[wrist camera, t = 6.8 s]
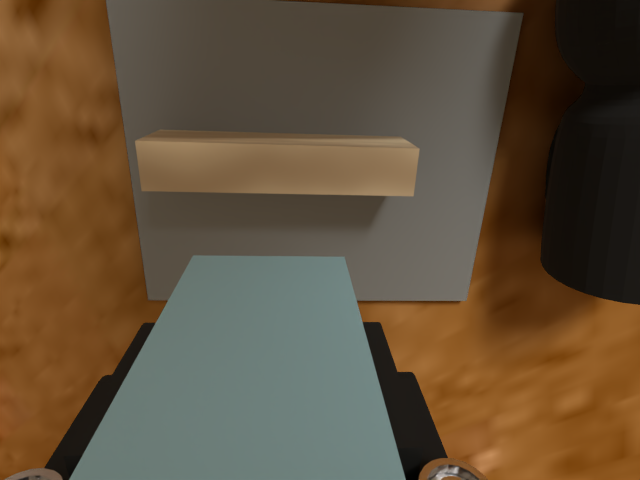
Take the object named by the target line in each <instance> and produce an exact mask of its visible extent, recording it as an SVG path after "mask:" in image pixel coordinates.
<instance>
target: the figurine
mask: <svg viewBox="0 0 640 480" xmlns="http://www.w3.org/2000/svg"><path fill="white" fill-rule="evenodd" d="M555 31H556V40H557V44H558V48H559V51H560V53H561V56H562V58H563V59H564V61H565V62H566V64H567V65H568V67H569V68H570V69H571V70H572V71H573V72H574V73H575V74H576V75H577V76H578V77H579V78H580V79H581V80H582V81H584V82H585V87H584V91H583V93H582V95H581V96H580V98H579V99H578V100H577V101H576V102H574V103H573V104H572V105H571V106H570V107H569V108H568V109H567V110H566V112H565V113H564V115H563V117H562V120H561V122H560V124H559V126H558V128H557V131H556V133H555V136H554V138H553V141H552V144H551V147H550V152H549V156H548V163H547V173H546V189H545V198H546V204H545V213H544V222H543V232H542V243H541V259H540V260H541V263H542V266H543V268H544V269H545V270H546V271H547V273H548V274H550V275H551V276H552V277H553V278H555V279H556V280H557V281H559V282H561V283H563V284H565V285H566V286H568V287H570V288H573V289H575V290H578V291H580V292H583V293H586V294H589V295H592V296H596V297H599V298H603V299H608V300H612V301H617V302H622V303H630V304H638V305H640V0H556V9H555Z"/></svg>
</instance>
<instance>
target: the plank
mask: <svg viewBox="0 0 640 480" xmlns="http://www.w3.org/2000/svg"><path fill="white" fill-rule="evenodd" d="M135 145H136V152H137V160H138V168H139V175H140V183H141V190H142V191H165V192H216V193H268V194H320V195H372V196H414V189H415V181H416V173H417V165H418V157H419V150H420V149H419V148H418V147H416V146H415V145H413V144H412V143H410V142H408V141H407V140H405V139H404V138H402V137H395V136H360V135H326V134H292V133H257V132H223V131H189V130H158V131H156V132H154V133H151V134H149V135H147V136H145V137H142V138H140V139H138V140H136V141H135Z"/></svg>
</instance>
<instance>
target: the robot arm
mask: <svg viewBox="0 0 640 480" xmlns="http://www.w3.org/2000/svg"><path fill="white" fill-rule="evenodd" d="M154 325H155V323H144V324H143V325H142V326H141V328H140V329H139V331H138V333H137V334H136V336H135V338H134V339H133V341H132V343H131V344H130V346H129V348H128V349H127V351H126V353H125V354H124V356H123V358H122V359H121V361H120V363H119V364H118V366H117V368H116V369H115V371H114V373H113V374H112V375H106V376H104V377H102V378H101V380H100V381H99V382H98V384H97V385H96V387H95V388H94V390H93V391H92V393H91V395H90V396H89V398H88V399H87V401H86V403H85V404H84V406H83V407H82V409H81V410H80V412H79V414H78V415H77V417H76V418H75V420H74V422H73V423H72V425H71V426H70V428H69V429H68V431H67V433H66V434H65V436H64V437H63V439H62V441H61V442H60V444H59V445H58V447H57V449H56V450H55V452H54V453H53V455H52V456H51V458H50V460H49V461H48V463H47V464H46V466H45V468H38V469H30V470H26V471H23V472H20V473H17V474H14V475H12V476H10V477H8V478H7V479H5V480H69V479H70V477H71V475H72V474H73V472H74V470H75V468H76V466H77V465H78V463H79V461H80V459H81V457H82V456H83V454H84V452H85V450H86V448H87V446H88V445H89V443H90V441H91V439H92V437H93V436H94V434H95V432H96V430H97V428H98V427H99V425H100V423H101V421H102V419H103V418H104V416H105V414H106V412H107V410H108V408H109V407H110V405H111V403H112V401H113V399H114V398H115V396H116V394H117V392H118V390H119V389H120V387H121V385H122V383H123V381H124V380H125V378H126V376H127V374H128V372H129V371H130V369H131V367H132V365H133V363H134V361H135V360H136V358H137V356H138V354H139V352H140V351H141V349H142V347H143V345H144V343H145V342H146V340H147V338H148V336H149V334H150V333H151V331H152V329H153V327H154ZM363 326H364V330H365V333H366V337H367V341H368V344H369V348H370V351H371V355H372V359H373V362H374V366H375V370H376V373H377V377H378V381H379V384H380V388H381V391H382V395H383V399H384V402H385V406H386V410H387V413H388V417H389V421H390V424H391V428H392V431H393V435H394V439H395V442H396V446H397V450H398V453H399V457H400V461H401V464H402V468H403V472H404V475H405V479H406V480H488V479H487V478H486V477H485V476H484V475H483V474H482V473H481V472H480V471H478V470H477V469H476V468H475V467H473V466H471V465H469V464H467V463H466V462H463V461H460V460H456V459H453V458H448V457H447V455H446V452H445V450H444V447H443V445H442V442H441V440H440V437H439V435H438V432H437V430H436V427H435V425H434V422H433V420H432V417H431V415H430V412H429V410H428V407H427V405H426V402H425V400H424V397H423V395H422V392H421V390H420V387H419V384H418V382H417V379H416V377H415V375H414V374H413V373H412V372H397V369H396V366H395V364H394V361H393V358H392V355H391V352H390V349H389V346H388V343H387V340H386V337H385V335H384V332H383V329H382V326H381V324H380V322H363Z"/></svg>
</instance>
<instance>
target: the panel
mask: <svg viewBox="0 0 640 480" xmlns="http://www.w3.org/2000/svg"><path fill="white" fill-rule="evenodd" d="M106 5H107V12H108V19H109V26H110V33H111V40H112V47H113V54H114V62H115V69H116V76H117V83H118V90H119V97H120V104H121V111H122V118H123V125H124V132H125V139H126V146H127V154H128V161H129V168H130V175H131V182H132V189H133V196H134V203H135V210H136V217H137V224H138V231H139V239H140V246H141V253H142V260H143V267H144V274H145V281H146V288H147V295H148V300H169V298H170V296H171V295H172V293H173V291H174V289H175V287H176V286H177V284H178V282H179V280H180V278H181V276H182V275H183V273H184V271H185V269H186V267H187V266H188V264H189V262H190V260H191V258H192V257H193V255H203V256H322V257H345V260H346V264H347V268H348V271H349V275H350V279H351V282H352V286H353V290H354V293H355V297H356V300H357V301H466V300H467V295H468V290H469V285H470V280H471V275H472V270H473V265H474V260H475V255H476V250H477V245H478V240H479V235H480V230H481V225H482V220H483V215H484V210H485V205H486V200H487V195H488V190H489V185H490V179H491V174H492V169H493V164H494V159H495V154H496V149H497V144H498V139H499V134H500V129H501V124H502V119H503V114H504V109H505V104H506V99H507V94H508V89H509V84H510V79H511V74H512V69H513V64H514V58H515V53H516V48H517V43H518V38H519V33H520V28H521V23H522V18H523V13H515V12H495V11H475V10H455V9H435V8H416V7H396V6H376V5H356V4H337V3H317V2H297V1H277V0H106ZM158 130H189V131H223V132H257V133H292V134H326V135H360V136H395V137H402V138H404V139H405V140H407V141H408V142H410V143H412V144H413V145H415V146H416V147H418V148H419V149H420V150H419V157H418V165H417V173H416V181H415V189H414V196H372V195H320V194H268V193H216V192H165V191H142V190H141V183H140V175H139V168H138V160H137V152H136V145H135V141H136V140H138V139H140V138H142V137H145V136H147V135H149V134H151V133H154V132H156V131H158Z"/></svg>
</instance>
